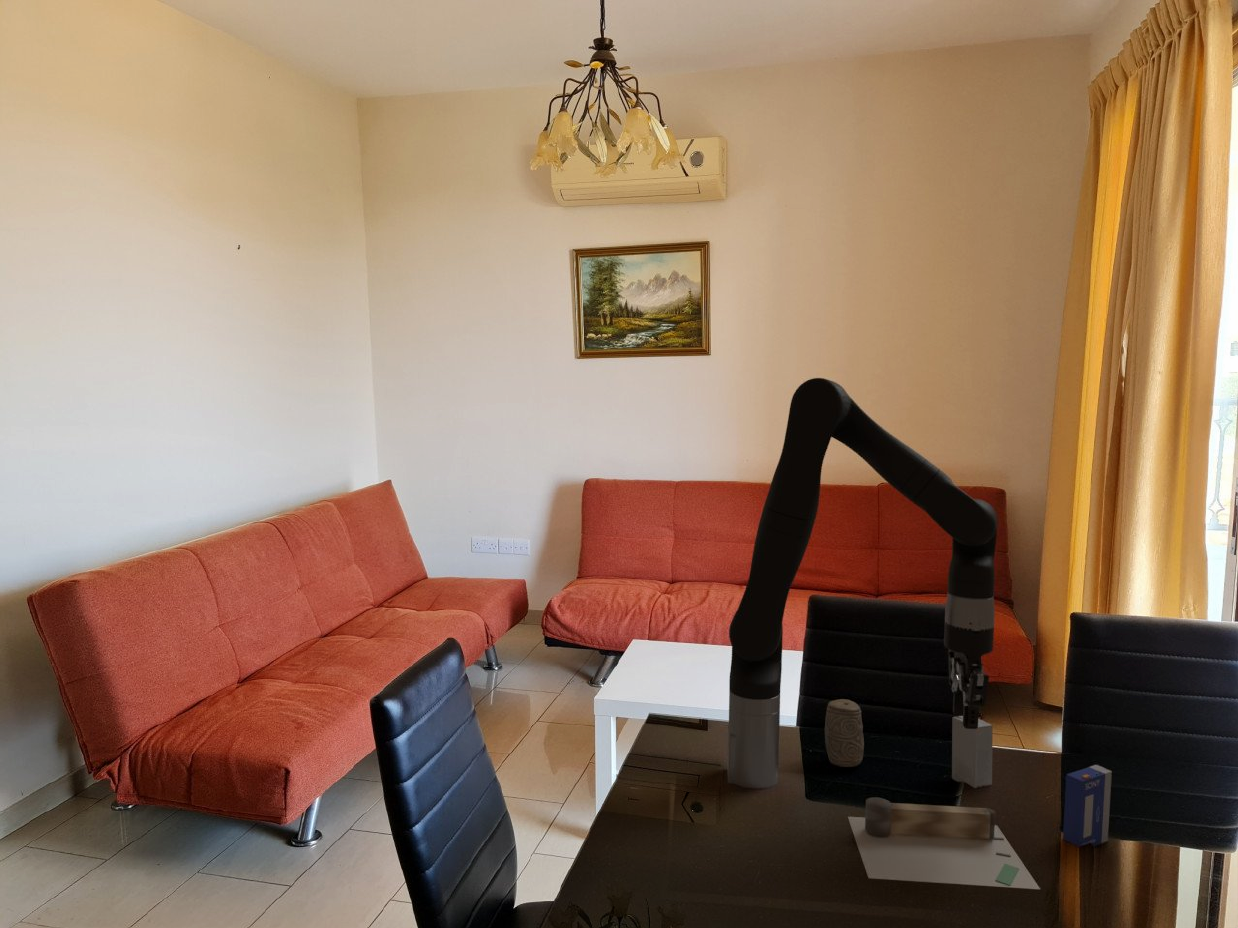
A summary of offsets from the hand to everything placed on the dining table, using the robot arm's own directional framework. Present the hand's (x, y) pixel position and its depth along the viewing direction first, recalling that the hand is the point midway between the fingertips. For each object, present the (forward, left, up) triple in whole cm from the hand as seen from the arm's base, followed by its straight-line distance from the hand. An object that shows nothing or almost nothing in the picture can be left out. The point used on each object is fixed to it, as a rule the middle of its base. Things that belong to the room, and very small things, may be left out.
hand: (965, 720), depth 139 cm
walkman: (+18, -4, -18) cm, 26 cm away
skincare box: (+6, +15, -18) cm, 24 cm away
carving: (-16, +21, -18) cm, 31 cm away
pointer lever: (-7, -7, -16) cm, 19 cm away
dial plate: (-7, -11, -17) cm, 22 cm away
